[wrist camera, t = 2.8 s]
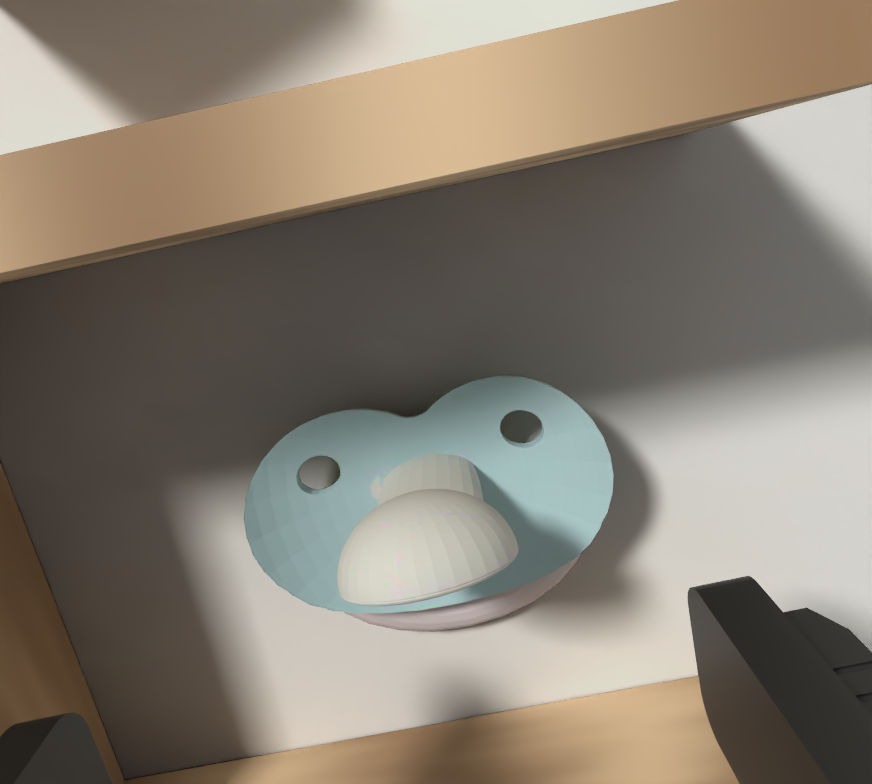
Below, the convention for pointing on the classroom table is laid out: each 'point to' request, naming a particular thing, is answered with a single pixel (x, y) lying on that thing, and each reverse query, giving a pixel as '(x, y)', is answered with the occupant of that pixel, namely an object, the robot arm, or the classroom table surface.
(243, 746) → the classroom table surface
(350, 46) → the classroom table surface
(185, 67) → the classroom table surface
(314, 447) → the pacifier
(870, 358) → the classroom table surface
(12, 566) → the cubby
